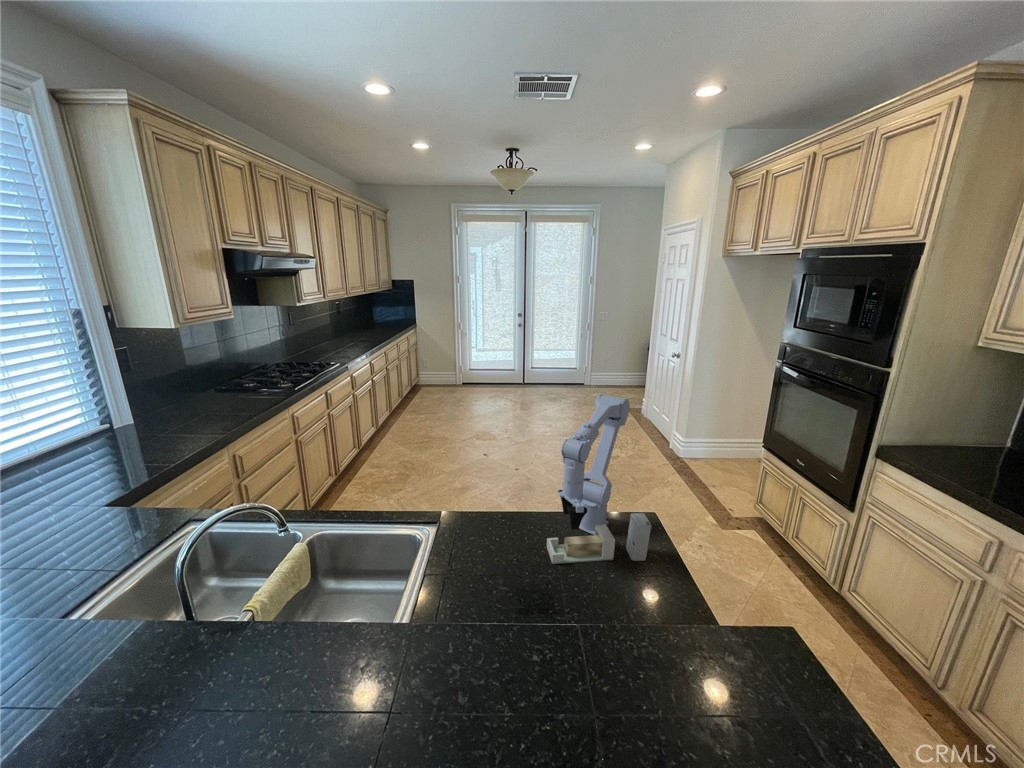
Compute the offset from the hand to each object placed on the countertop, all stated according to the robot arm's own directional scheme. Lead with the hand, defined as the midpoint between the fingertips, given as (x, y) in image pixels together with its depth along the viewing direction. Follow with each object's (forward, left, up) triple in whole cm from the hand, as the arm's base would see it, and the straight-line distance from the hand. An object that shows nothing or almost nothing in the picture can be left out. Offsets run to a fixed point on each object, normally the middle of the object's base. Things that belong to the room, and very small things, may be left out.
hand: (570, 520), depth 118 cm
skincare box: (-10, +17, -10) cm, 22 cm away
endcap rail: (0, +3, -9) cm, 10 cm away
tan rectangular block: (-1, +5, -9) cm, 10 cm away
